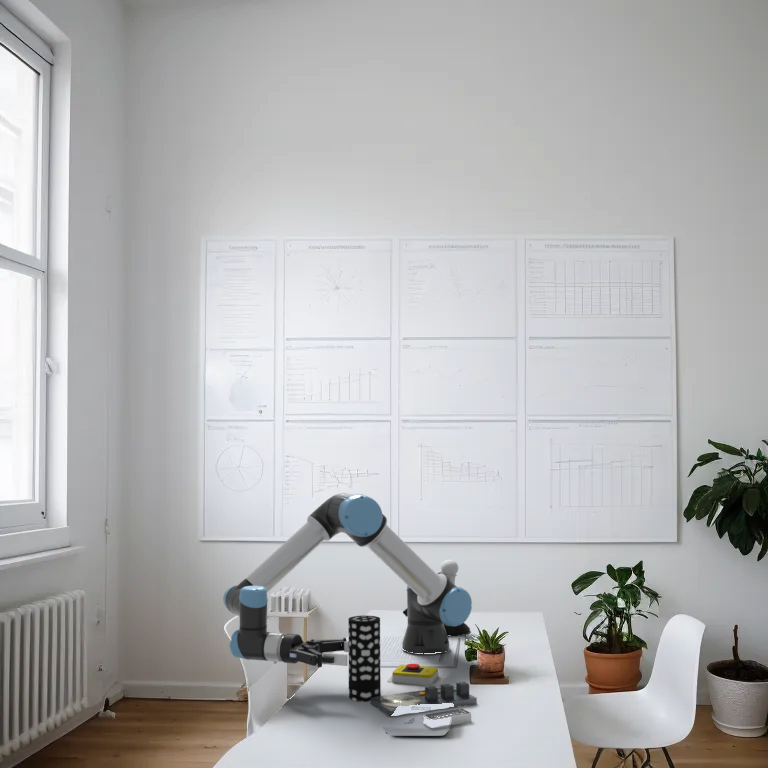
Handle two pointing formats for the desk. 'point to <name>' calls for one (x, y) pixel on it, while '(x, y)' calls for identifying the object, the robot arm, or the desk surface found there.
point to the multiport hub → (457, 716)
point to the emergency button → (417, 675)
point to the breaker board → (416, 693)
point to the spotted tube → (364, 658)
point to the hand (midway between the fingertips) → (357, 654)
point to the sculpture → (450, 571)
